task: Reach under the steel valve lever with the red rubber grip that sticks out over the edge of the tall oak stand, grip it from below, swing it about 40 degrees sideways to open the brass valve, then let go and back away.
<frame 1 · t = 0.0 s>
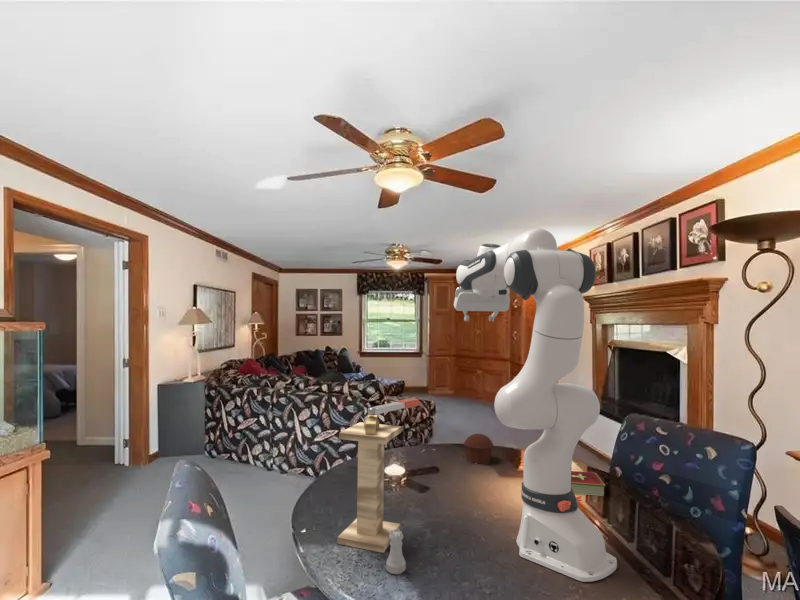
hand: (478, 320, 165), 54 cm above the table, tool tilted 30°, fingers open, 8 cm apart
hardcover book: (566, 488, 145), on the table
muffin: (478, 461, 171), on the table
valve lever: (393, 406, 118), point 31 cm above the table, hinge at 0.0°
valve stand: (369, 536, 110), on the table
rook chess piece: (395, 570, 96), on the table
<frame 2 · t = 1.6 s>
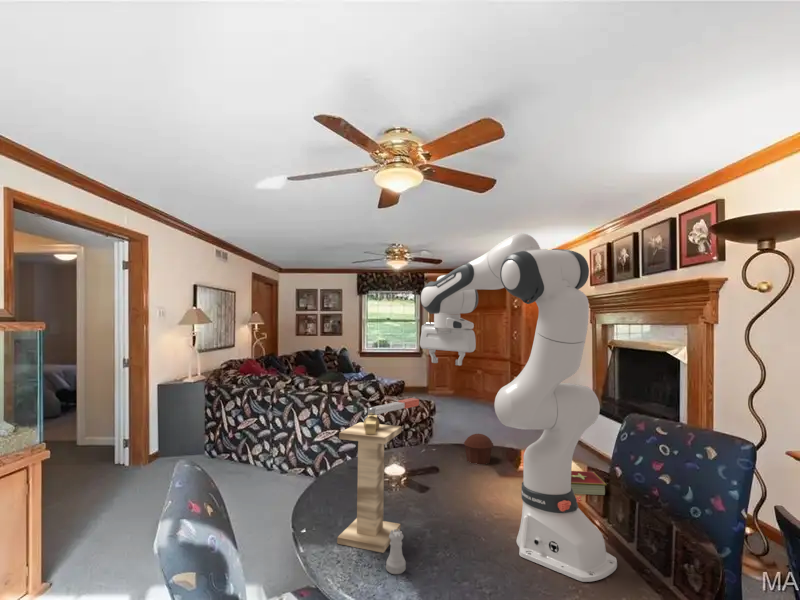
hand: (446, 364, 148), 40 cm above the table, tool pointing down, fingers open, 8 cm apart
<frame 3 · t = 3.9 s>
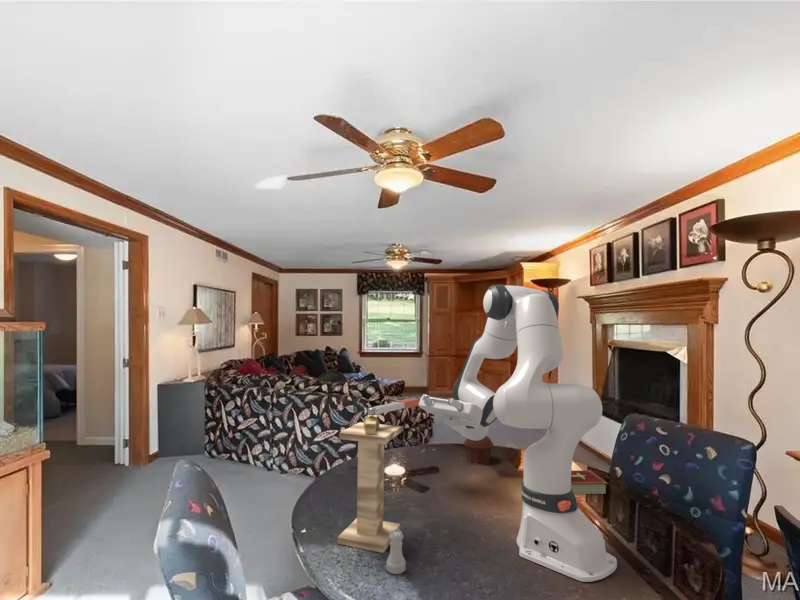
hand: (436, 398, 134), 30 cm above the table, tool pointing upward, fingers open, 8 cm apart
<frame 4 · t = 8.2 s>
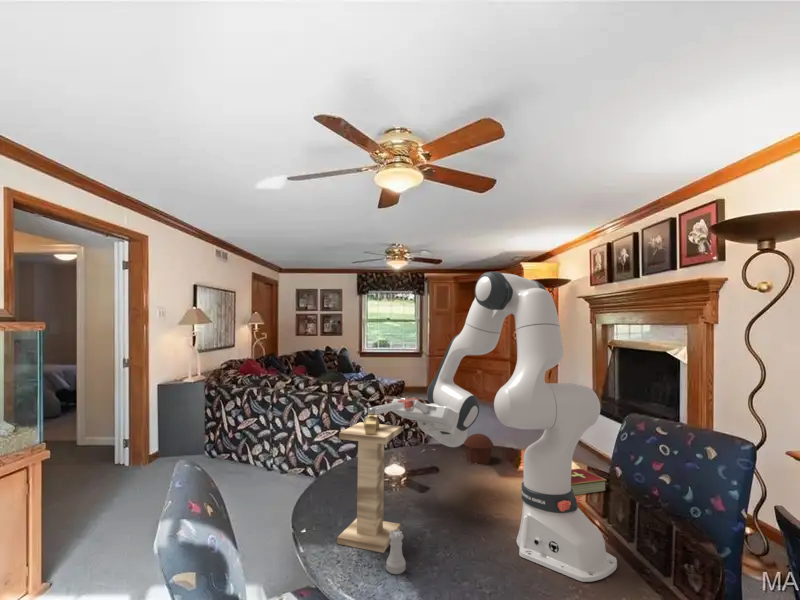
hand: (407, 401, 123), 31 cm above the table, tool pointing upward, fingers closed on valve lever, 3 cm apart
valve lever: (393, 406, 118), point 31 cm above the table, hinge at 0.0°, touching gripper
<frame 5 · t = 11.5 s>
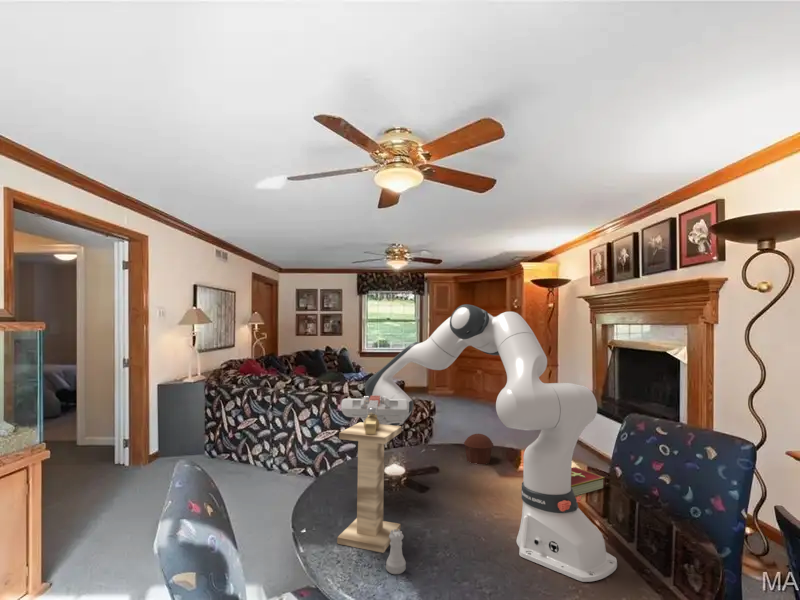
hand: (374, 398, 126), 32 cm above the table, tool pointing upward, fingers open, 3 cm apart
valve lever: (373, 404, 120), point 31 cm above the table, hinge at 39.6°
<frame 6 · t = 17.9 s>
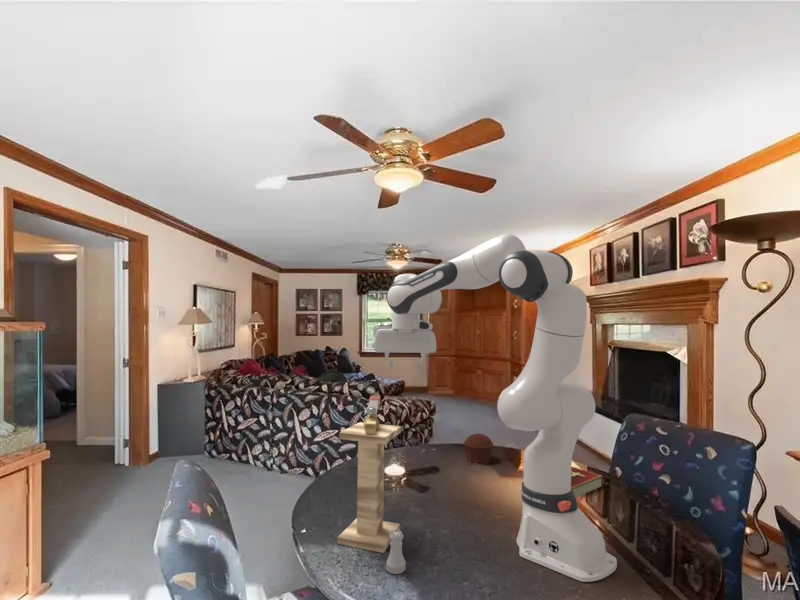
hand: (404, 366, 143), 39 cm above the table, tool pointing down, fingers open, 8 cm apart
at the end: valve lever at +40° (first picture: +0°); the gripper is holding nothing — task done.
